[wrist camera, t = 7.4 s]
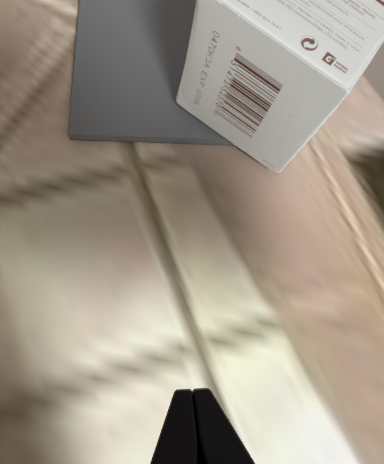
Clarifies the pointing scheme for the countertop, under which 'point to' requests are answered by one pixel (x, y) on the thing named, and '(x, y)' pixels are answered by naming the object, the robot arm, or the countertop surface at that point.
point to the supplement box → (276, 68)
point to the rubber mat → (133, 73)
